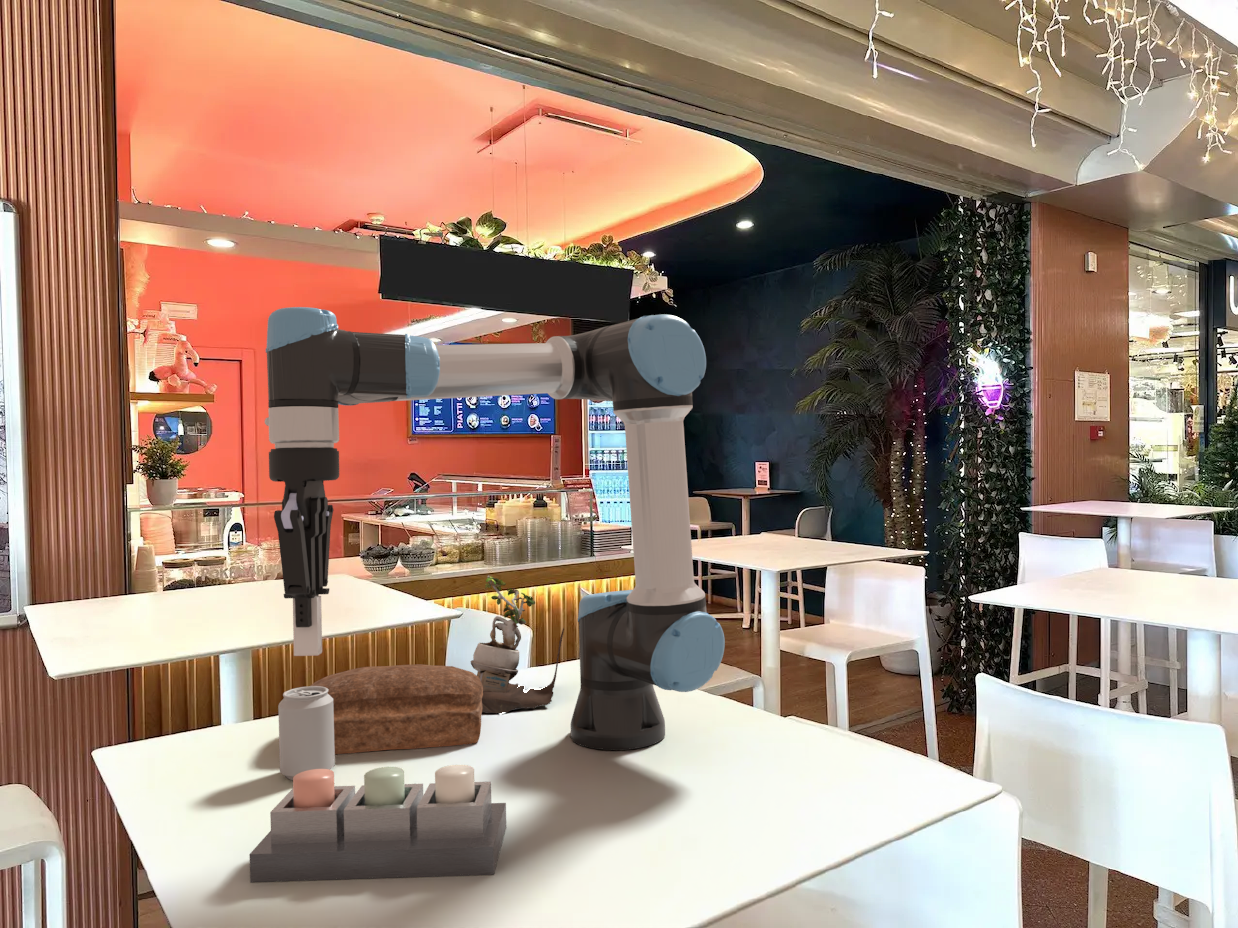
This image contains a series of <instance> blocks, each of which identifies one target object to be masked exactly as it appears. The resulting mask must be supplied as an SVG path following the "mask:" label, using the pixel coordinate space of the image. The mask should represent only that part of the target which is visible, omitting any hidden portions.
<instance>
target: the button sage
mask: <svg viewBox="0 0 1238 928" xmlns="http://www.w3.org/2000/svg"><path fill="white" fill-rule="evenodd" d="M363 779H364V780H363V783H364V784H363V785H364V790H365V806H373V805H402V804H403V803H404V801H405V787H404V784H405V770H404V769H403V768H402V767H398V766H383V767H377V768H374V769H371V770H368V771H367V772H365V773H364V775H363Z"/></svg>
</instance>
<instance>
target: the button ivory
mask: <svg viewBox="0 0 1238 928" xmlns="http://www.w3.org/2000/svg"><path fill="white" fill-rule="evenodd" d="M434 780H435V781H434V783H435V794H436V804H439V803H471V802H475V783H474V782H475V768H474V767H473V766H471V765H469V764H467V765H466V764H451V765H446V766H443V767H440V768H438V769H437V770H436V771H435V772H434Z"/></svg>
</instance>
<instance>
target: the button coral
mask: <svg viewBox="0 0 1238 928" xmlns="http://www.w3.org/2000/svg"><path fill="white" fill-rule="evenodd" d="M292 786H293V787H292V789H293V796H294V808H307V807H330V806H331V805H332V804H333V802H334V801H335V794H334V786H335V771H333V770H332V769H330V770H329V769H312V770H307V771H304V772H301V773H298V774H296V775H295V776H294V777H293V780H292Z"/></svg>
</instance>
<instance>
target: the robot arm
mask: <svg viewBox="0 0 1238 928" xmlns="http://www.w3.org/2000/svg"><path fill="white" fill-rule="evenodd" d="M270 313H271V314H269V316H268V318H267V319H268V320H267V330H266V348H265V353H266V366H267V368H266V369H267V370H266V371H267V394H268V398H267V399H268V403H267V404H268V407H267V408H268V410H267V411H268V417H266V418H265V419H264V424H265V425H266V426H267V427H268V441H269V442H270V444H272V445H274V448H271V449H270V451H269V452H268V470H269V471H268V476H269V477H268V478H269V479H270V481H272V482H278V483H279V482H281V483H282V482H283V483H284V492H283V499H282V500H281V509H279V510H275V511H274V513H273V518H274V523H275V527H276V530H277V534H278V536H277V537H278V545H279V554H280V555H279V556H280V564H281V572H282V581H283V588H284V589H283V591H284V593H283V598H284V599H292V619H293V620H292V621H293V622H292V625H293V628H292V629H293V631H292V632H293V656H294V657H308V656H312V657H313V656H320V655H321V654H322V653H323V626H322V625H323V624H322V621H323V620H322V618H323V617H322V595H329V593H330V588H329V587H328V588H327V586H328V583H329V580H328V579H329V563H330V562H329V561H330V545H331V528H332V526H331V525H332V521H333V513H334V506H333V505H332V504H329V502H328V497H327V496H326V491H325V485H324V482H326V481H336V480H338V479H339V478H340V451H339V450H338V448H335V444H337V443H338V442H339V441H340V422H339V421H340V420H339V417H340V415H339V405H340V406H356V405H359V404H369V403H370V404H371V403H372V404H373V403H374V404H375V403H387V402H388V403H390V402H400V401H401V402H402V401H418V400H419V401H420V400H423V401H424V400H439V399H440V400H441V399H460V398H461V399H462V398H481V397H497V396H518V395H519V396H521V395H538V394H540V395H541V394H547V395H548V396H550V398H552V399H553V400H568V399H569V400H575V399H576V400H589V401H601V402H603V401H604V402H612V410H613V411H612V412H613V414H614V415H615V416H616V417H617V418H618V419H619V420H620V421H621V422H622V423H623V424H624V431H625V432H624V434H625V447H626V448H625V450H626V461H627V463H626V465H627V476H628V488H629V489H628V490H629V491H628V492H629V505H630V521H631V534H632V548H633V549H632V550H633V561H634V562H633V563H634V577H635V578H634V580H635V581H634V582H635V586H634V588H633V589H628V590H627V589H625V590H617V591H616V590H615V591H607V592H606V591H605V592H599V593H593V594H592V593H591V594H588V595H587V594H586V595H585V596H583V597H582V598H581V599H580V601H579V604H578V614H577V615H578V616H577V623H578V640H579V641H578V643H579V672H580V673H579V674H580V675H579V677H580V678H579V679H580V689H579V693H578V697H577V700H576V703H575V705H574V706H575V707H574V710H573V713H572V717H571V720H570V738H571V740H572V741H573V742H574V743H576V744H577V745H580V746H582V747H585V748H590V749H596V750H603V751H605V750H607V751H622V750H624V751H625V750H634V749H639V748H640V749H641V748H645V747H648V746H652V745H654V744H657V743H659V742H660V741H662V740H663V739H664V738H665V736H666V721H665V717H664V714H663V712H662V711H663V710H662V708H661V706H660V702H659V699H658V696H657V694H656V691H655V687H654V686H657V687H658V688H660V689H662V690H664V691H665V690H666V691H675V692H680V693H688V692H693V691H696V690H699V689H701V688H702V687H703V686H705V685H706V684H707V683H708V682H709V681H710V680H711V679H713V675H714V674H715V672H716V671H718V669H719V668H720V665H721V664H722V663H721V662H722V660H723V657H724V654H725V653H724V652H725V648H726V647H725V645H726V644H725V643H726V642H725V641H726V640H725V634H724V630H723V628H722V626H721V624H720V623H719V622H718V621H717V619H716V618H715V617H714V616H713V615H711V614H709V613H708V611H707V600H706V593H705V591H704V590H703V589H702V588H701V587H699V585H697V584H696V582H695V575H694V565H693V564H694V563H693V548H692V547H693V546H692V535H691V534H692V533H691V531H692V530H691V518H690V503H689V488H688V472H687V471H688V470H687V457H686V455H687V454H686V445H685V444H686V443H685V426H684V420H685V417H686V416H687V415H688V414H689V413H690V411H692V410H693V404H694V402H693V392H694V391H695V390H696V389H697V388H698V387H699V386H700V384H702V383H701V380H702V379H703V378H704V377H705V373H706V369H707V356H706V351H705V347H704V345H703V341H702V340H701V338H700V336H699V335H698V333H697V332H696V331H697V330H695V329H693V328H692V327H691V326H690V324H689V323H688V322H687V321H686V320H684V319H683V318H680V317H678V316H676V315H672V314H667V313H666V314H665V313H664V314H661V313H660V314H655V315H654V314H651V315H643V316H640V317H639V318H635V319H631V320H628V321H624V322H620V323H619V322H618V323H615V324H612V325H607V326H603V327H600V328H596V329H594V330H590V331H586V332H582V333H578V334H572V335H558V336H557V335H556V336H555V335H554V336H550V338H548V339H547V341H545V343H542V342H540V343H534V342H532V343H489V344H488V343H486V344H485V343H484V344H482V343H481V344H435V343H434V341H433V340H431V338H429V337H426V336H425V337H424V336H417V335H410V334H409V333H405V334H395V333H381V332H379V333H378V332H375V333H374V332H359V331H350V330H345V329H339V324H338V323H337V321H338V320H337V316H336V314H335V313H334V312H332V311H331V310H327V309H321V308H316V307H307V306H293V307H283V308H278V309H276V310H275V311H273V312H270ZM325 587H326V588H325Z"/></svg>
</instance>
